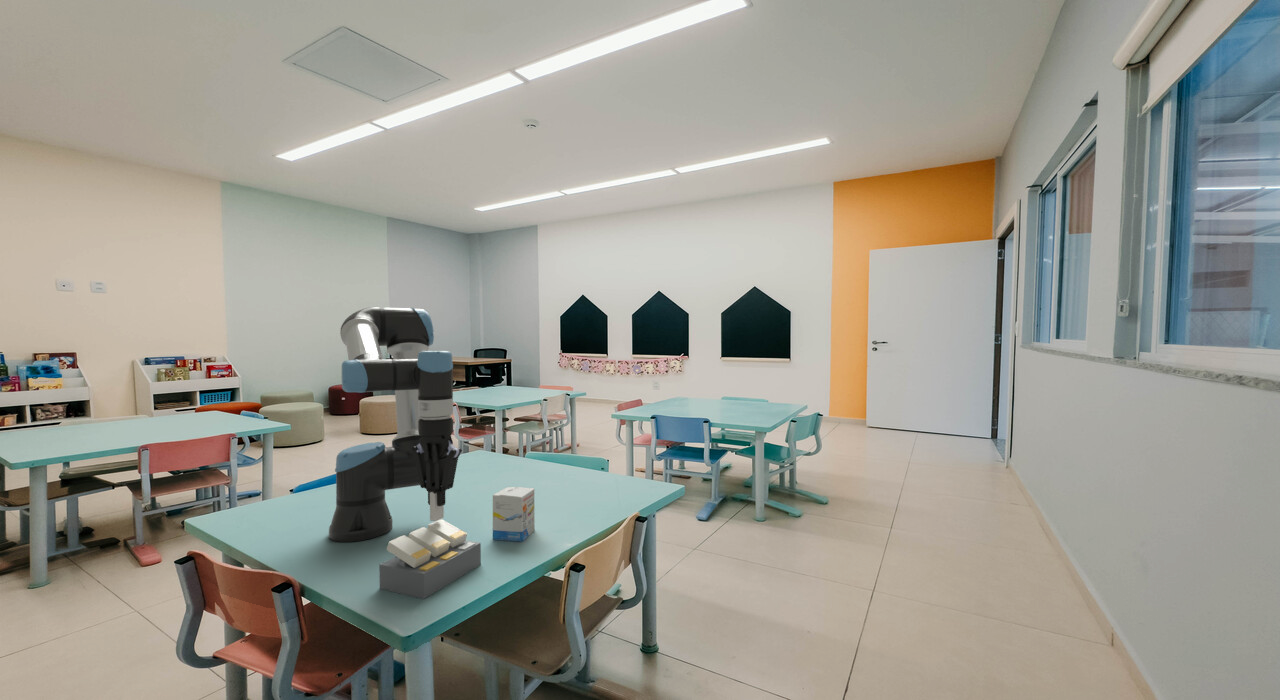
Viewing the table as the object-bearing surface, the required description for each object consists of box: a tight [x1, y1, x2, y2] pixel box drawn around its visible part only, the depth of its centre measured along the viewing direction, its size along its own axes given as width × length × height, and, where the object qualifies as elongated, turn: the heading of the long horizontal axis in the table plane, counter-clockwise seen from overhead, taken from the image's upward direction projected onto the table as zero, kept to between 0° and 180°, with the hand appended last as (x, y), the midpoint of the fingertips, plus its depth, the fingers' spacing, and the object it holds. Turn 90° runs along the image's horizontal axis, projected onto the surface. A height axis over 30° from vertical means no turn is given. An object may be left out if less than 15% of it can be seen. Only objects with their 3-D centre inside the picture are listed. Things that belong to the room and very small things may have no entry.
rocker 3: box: [427, 518, 468, 547], centre depth 117 cm, size 8×4×2 cm, turn 68°
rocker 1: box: [386, 534, 431, 568], centre depth 107 cm, size 8×4×2 cm, turn 68°
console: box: [378, 539, 482, 600], centre depth 111 cm, size 12×17×6 cm
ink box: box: [492, 486, 536, 542], centre depth 135 cm, size 9×8×12 cm
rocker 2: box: [407, 526, 450, 557], centre depth 112 cm, size 8×4×2 cm, turn 68°
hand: (436, 519), depth 118 cm, fingers closed
